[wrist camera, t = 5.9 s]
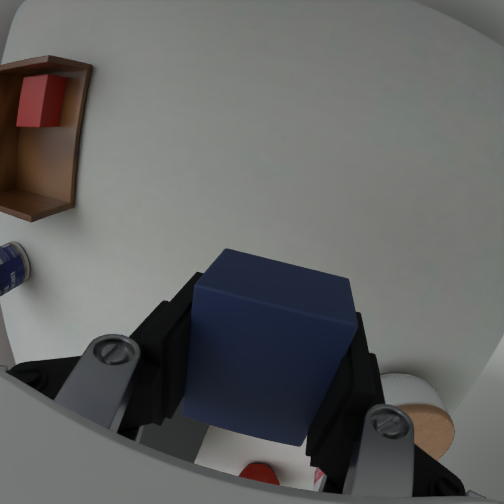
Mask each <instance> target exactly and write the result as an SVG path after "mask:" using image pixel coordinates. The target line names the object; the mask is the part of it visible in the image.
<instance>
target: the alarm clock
mask: <svg viewBox="0 0 504 504" xmlns="http://www.w3.org/2000/svg"><path fill="white" fill-rule="evenodd" d="M182 406H183V398H182V400H181V402H180V404H179V406H178V408H177V409H176V411H175V413H174V415H173V417H172V418H171V419H168V418H165V420H164V422H163V423H162V425H161V426H159V425H156V424H154V423H152V424H148V425H144V429H143V432H142V436H141V439H140V442H139V443H140V444H142V445H145V446H147V447H150V448H152V449H155V450H157V451H160V452H162V453H165V454H168V455H171V456H173V457H176V458H179V459H182V460H185V461H188V462H191V463H194V461H195V459H196V456H197V454H198V451H199V449H200V447H201V444H202V442H203V439H204V437H205V435H206V432H207V430H208V427H209V424H206V423H203V422H200V421H197V420H194V419H191V418H188V417H185V416H183V415H182Z"/></svg>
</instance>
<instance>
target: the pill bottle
mask: <svg viewBox="0 0 504 504" xmlns="http://www.w3.org/2000/svg"><path fill="white" fill-rule="evenodd" d="M29 272H30V267H29V261H28V258H27V255H26V253H25V251H24V250H23V249H22V247H21V246H20V245H19V244H17V243H15V242H10V243H7V244H4V245H2V246H0V296H2V295H4V294H5V293H7V292H8V291H10V290H12V289H13V288H15V287H17V286H19V285H20V284H22V283H23V282H25V281H26V280H27V279H28V277H29Z"/></svg>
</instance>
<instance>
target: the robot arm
mask: <svg viewBox="0 0 504 504" xmlns="http://www.w3.org/2000/svg"><path fill="white" fill-rule="evenodd" d="M203 274H204V273H200V272H196V273H195V274H194V276H193V277H192V278H191V279H190V280H189V281H188V282H187V283H186V284H185V286H184V287H183V288H182V289H181V290H180V291H179V292H178V293H177V294H176V296H175V297H174V298H173V299H172V300H171V301H170V302H168V301H162V302H161V303H160V304H159V305H158V306H157V307H156V308H155V309H154V311H153V312H152V313H151V314H150V315H149V316H148V317H147V318H146V319H145V320H144V321H143V322H142V323H141V325H140V326H139V327H138V328H137V329H136V330H135V331H134V332H133V333H132V334H131V335H130V336H129V337H126V336H124V335H119V334H107V335H103V336H99V337H98V338H96V339H94V340H93V341H92V342H91V343H90V344H89V346H88V347H87V349H86V350H85V352H84V353H83V355H82V356H76V357H68V358H59V359H50V360H40V361H29V362H23V363H20V364H18V365H16V366H14V367H13V368H12V369H10V370H8V367H7V366H1V365H0V504H504V502H501V501H497V500H493V499H489V498H486V497H484V496H482V495H480V494H478V493H475V492H473V491H471V490H469V491H467V492H465V489H464V485H463V484H462V482H461V480H460V479H459V478H458V477H457V476H456V475H454V474H453V473H452V472H450V471H449V470H448V469H447V468H445V467H444V466H443V465H441V464H440V463H439V462H438V461H436V460H435V459H434V458H432V457H431V456H430V455H429V454H427V453H426V452H425V451H424V450H422V449H421V448H420V447H419V446H417V445H416V444H415V443H414V424H413V422H412V420H411V418H410V417H409V415H408V414H407V413H406V412H404V411H403V410H401V409H400V408H398V407H396V406H393V405H389V404H385V398H384V393H383V388H382V383H381V377H380V373H379V368H378V363H377V358H376V355H375V354H373V353H369V351H368V346H367V341H366V336H365V331H364V326H363V321H362V317H361V313H360V312H356V316H357V321H358V328H357V330H356V333H355V335H354V337H353V340H352V342H351V345H350V347H349V349H348V351H347V354H346V356H345V357H342V360H341V362H340V364H339V366H338V369H337V371H336V373H335V375H334V377H333V380H332V382H331V384H330V386H329V388H328V390H327V392H326V394H325V397H324V399H323V401H322V403H321V405H320V407H319V409H318V411H317V413H316V415H315V417H314V419H313V421H312V423H311V424H310V426H309V428H308V434H307V444H306V456H311V462H310V466H312V467H319V469H320V470H321V471H322V472H323V473H324V476H323V478H322V481H321V484H320V487H319V490H318V492H317V491H310V490H303V489H297V488H291V487H285V486H280V485H274V484H269V483H265V482H260V481H255V480H251V479H247V478H243V477H239V476H235V475H231V474H227V473H224V472H220V471H217V470H213V469H210V468H206V467H203V466H200V465H197V464H194V463H191V462H188V461H185V460H182V459H179V458H176V457H173V456H171V455H168V454H165V453H162V452H160V451H157V450H155V449H152V448H150V447H147V446H145V445H142V444H140V443H139V442H140V439H141V436H142V432H143V429H144V425H148V424H152V423H154V424H156V425H159V426H161V425H162V423H163V422H164V420H165V418H168V419H171V418H172V417H173V415H174V413H175V411H176V409H177V408H178V406H179V404H180V402H181V400H182V398H183V396H184V385H185V374H186V363H187V352H188V342H189V333H190V323H191V311H192V302H193V293H194V285H195V283H196V282H197V281H198V280H199V279H200V277H201V276H202V275H203Z"/></svg>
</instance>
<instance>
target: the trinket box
mask: <svg viewBox="0 0 504 504" xmlns="http://www.w3.org/2000/svg"><path fill="white" fill-rule="evenodd" d="M380 377H381V383H382V388H383V393H384V398H385V404H389V405H393V406H396V407H398V408H400V409H401V410H403V411H404V412H406V413H407V414H408V415H409V417H410V418H411V420H412V422H413V424H414V443H415V444H416V445H417V446H419V447H420V448H421V449H422V450H424V451H425V452H426V453H427V454H429V455H430V456H431V457H432V458H434V459H435V460H436V461H438V460H439V459H440V458H441V457H442V456H443V455H444V454H445V453H446V451H447V450H448V449H449V447H450V445H451V444H452V441H453V439H454V434H455V429H454V424H453V422H452V420H451V417H450V415H449V414H448V411H447V409H446V407H445V405H444V403H443V401H442V399H441V397H440V396H439V394H438V393H437V392H436V390H435V389H434V388H433V387H432V386H431V385H430V384H428V383H427V382H426V381H424V380H423V379H420V378H418V377H416V376H413V375H409V374H401V373H387V374H383V375H380Z"/></svg>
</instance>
